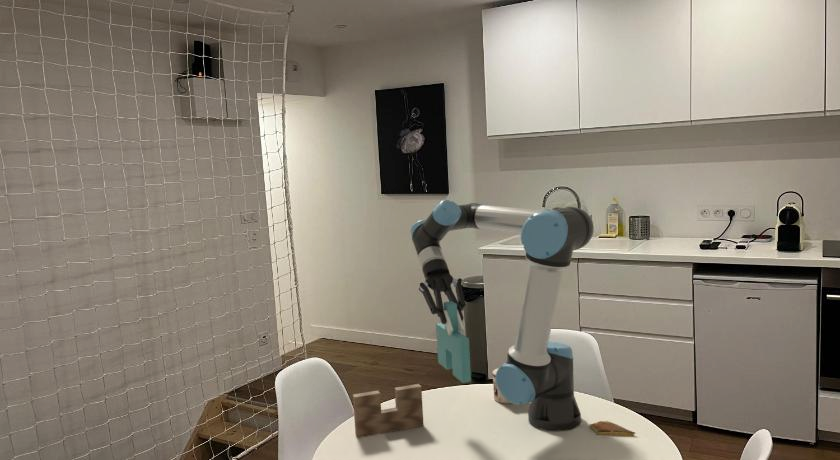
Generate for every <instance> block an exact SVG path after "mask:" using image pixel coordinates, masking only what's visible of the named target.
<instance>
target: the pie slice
mask: <svg viewBox="0 0 840 460" xmlns="http://www.w3.org/2000/svg"><path fill="white" fill-rule="evenodd" d="M588 427H589V428H590V429H592V430H593V431H594V432H595V433H596V435H599V436H601V435H602V436H605V435H606V436H607V435H608V436H609V435H610V436H621V437H622V436H623V437H633V436H635V434H636V432H634V431H632V430H629V429H627V428H625V427H624V426H621V425H619V424H617V423H613V422H612V421H608V420H600V421H596V422H594V423H591V424H589V426H588Z"/></svg>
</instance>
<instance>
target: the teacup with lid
mask: <svg viewBox="0 0 840 460" xmlns="http://www.w3.org/2000/svg"><path fill="white" fill-rule="evenodd" d="M503 364H506V362H505V363H503ZM498 368H499V367H497V368H495V369H493V371H492V377H493V378H492V381H493V383H492V385H493V399H494V401H495V402H497V403H499V404H512V403H511V402H509V401H508V400H507V399H506V398H505V397H504V396H503V395H502V394H501V391H500V390H499V389H498V386H497V383H496V372H497V370H498Z"/></svg>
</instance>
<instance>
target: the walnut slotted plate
mask: <svg viewBox="0 0 840 460" xmlns="http://www.w3.org/2000/svg"><path fill="white" fill-rule="evenodd" d="M394 397H395V398H394V399H395V407H392V408H385V409H382V403H381V392H380V390H372V391H366V392H361V393H360V392H359V393H355V394H352V402H353V419H354V431H355V432H354V433H355V436H356V438H357V439H358V438H364V437H369V436H370V437H371V436H376V435H380V434H385V433H386V434H387V433H390V432H391V433H392V432H396V431H398V432H399V431H403V430H408V429H413V428H418V427H424V410H423V408H424V407H423V394H422V385H420V383H416V384H409V385H404V386H397V387H394Z"/></svg>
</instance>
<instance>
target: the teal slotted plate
mask: <svg viewBox="0 0 840 460" xmlns="http://www.w3.org/2000/svg"><path fill="white" fill-rule="evenodd" d="M443 308H444V311H445V310H447V313H448V316H449V318H450V321H451V324H452V327H453V332H452V334H451V335H448V332H447V329H446V325H445V324H442V323H441V322H438V323H437V322H436V323H435V328H436V345H437V363H438V364H439V365H441V366H442V367H443V369H445V370H446V371H447V370H448V371H449V370H452V376H454V377H455V378H456V379H457V380H458V381H460V382H461V383H462V384H465V383H472V375H471V373H472V372H471V354H470V351H471V350H470V338H469V337H467V336H466V335H464V334H463V333H462V334H461V333H459V331H458V318H457V304H456V303H454V302H452V301H450V302H449V301H443Z"/></svg>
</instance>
